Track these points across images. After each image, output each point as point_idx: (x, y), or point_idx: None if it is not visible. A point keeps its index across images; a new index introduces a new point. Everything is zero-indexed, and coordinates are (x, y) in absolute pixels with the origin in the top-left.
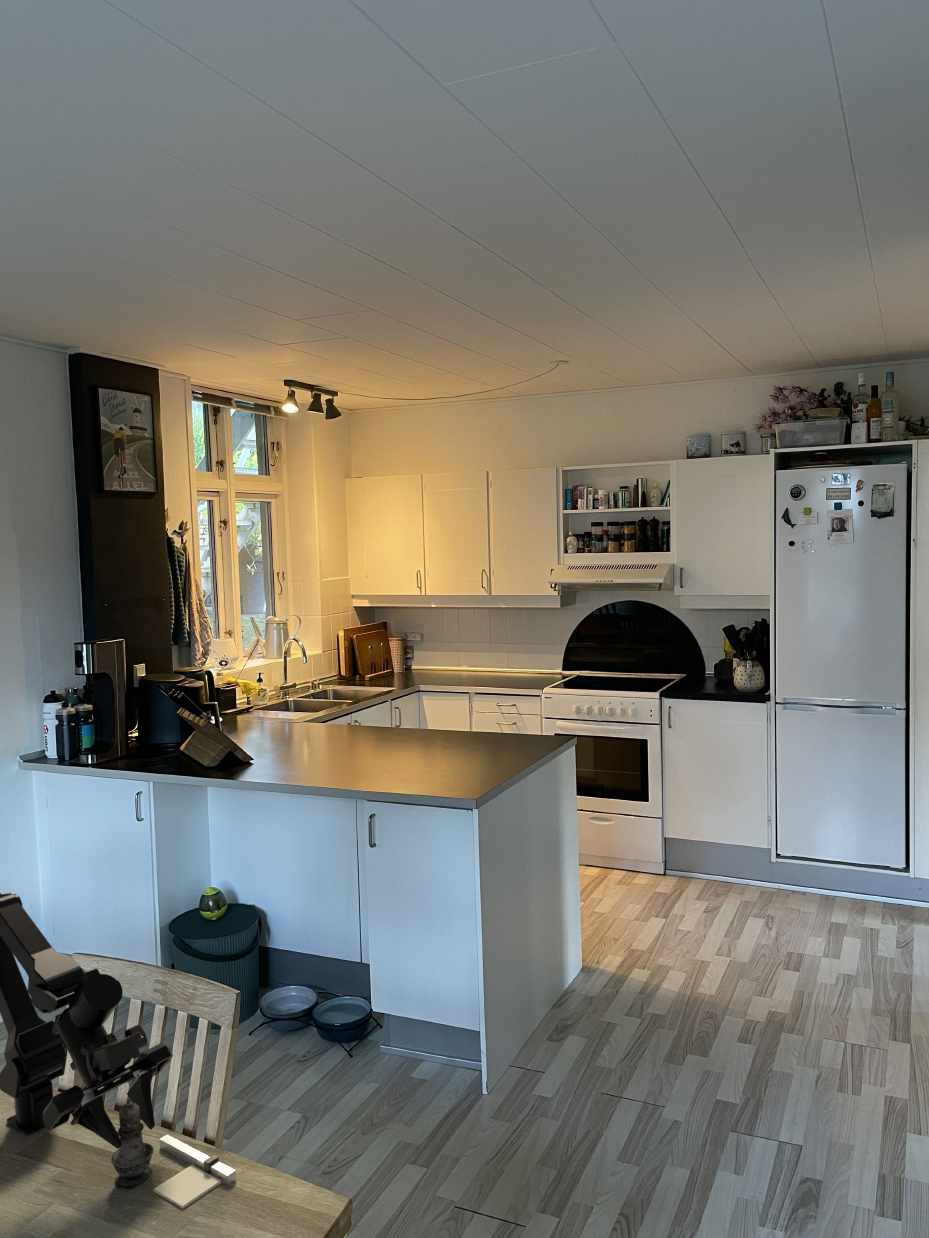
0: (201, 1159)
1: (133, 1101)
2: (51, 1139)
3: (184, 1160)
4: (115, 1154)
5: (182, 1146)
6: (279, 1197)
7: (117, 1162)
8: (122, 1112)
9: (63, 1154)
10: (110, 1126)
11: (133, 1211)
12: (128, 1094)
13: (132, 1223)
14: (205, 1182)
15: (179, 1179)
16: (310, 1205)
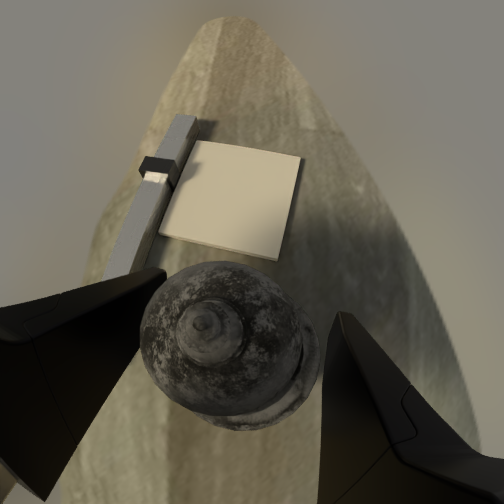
0: (153, 197)
1: (70, 441)
2: None
3: (141, 269)
4: (269, 413)
5: None
6: (209, 60)
7: (306, 369)
8: (293, 341)
9: None
10: (379, 369)
11: (357, 257)
12: (47, 488)
13: (386, 230)
14: (212, 161)
15: (220, 222)
16: (214, 34)
